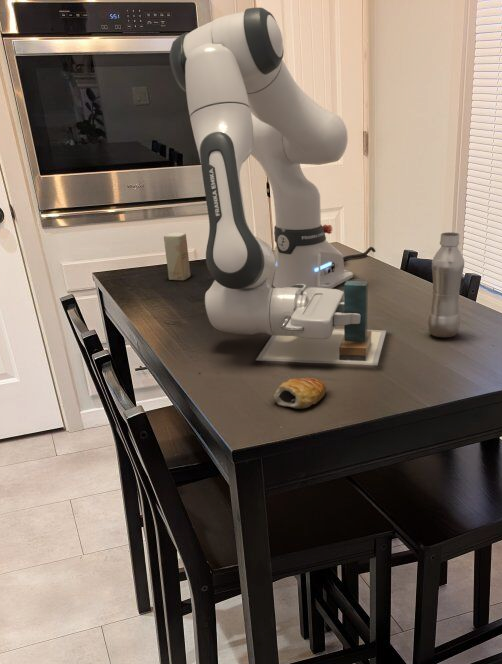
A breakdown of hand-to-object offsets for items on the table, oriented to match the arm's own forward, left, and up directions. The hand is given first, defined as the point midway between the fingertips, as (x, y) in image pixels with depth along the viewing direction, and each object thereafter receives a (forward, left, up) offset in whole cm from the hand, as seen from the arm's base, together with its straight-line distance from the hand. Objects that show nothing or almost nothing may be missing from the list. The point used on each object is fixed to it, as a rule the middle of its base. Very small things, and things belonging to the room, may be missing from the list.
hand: (362, 314), depth 135 cm
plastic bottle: (-19, +7, -8) cm, 22 cm away
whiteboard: (+1, -8, -8) cm, 12 cm away
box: (-18, -73, -8) cm, 76 cm away
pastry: (+24, +5, -8) cm, 25 cm away
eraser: (+1, -1, -7) cm, 7 cm away
